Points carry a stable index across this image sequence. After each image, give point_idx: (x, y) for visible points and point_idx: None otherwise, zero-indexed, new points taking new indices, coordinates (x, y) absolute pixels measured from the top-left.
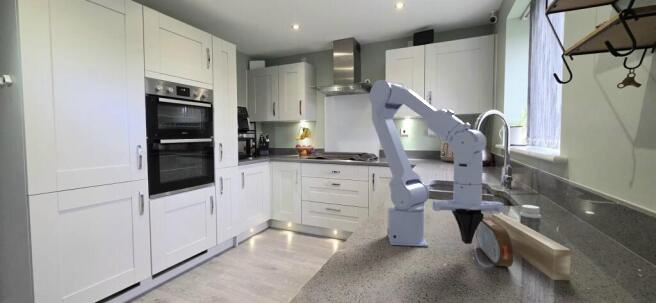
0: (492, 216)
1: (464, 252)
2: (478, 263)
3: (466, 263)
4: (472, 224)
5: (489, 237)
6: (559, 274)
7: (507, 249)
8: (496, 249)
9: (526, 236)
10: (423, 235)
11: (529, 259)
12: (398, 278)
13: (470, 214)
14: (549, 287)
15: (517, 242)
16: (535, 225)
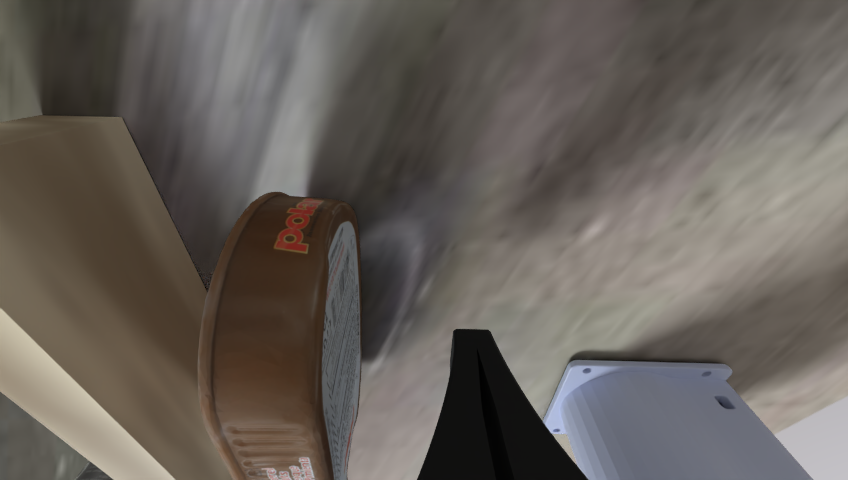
0: None
1: (439, 328)
2: (425, 246)
3: (482, 242)
4: (483, 466)
5: (336, 372)
6: (58, 121)
7: (277, 230)
8: (337, 272)
9: (115, 387)
10: (582, 414)
11: (186, 277)
12: None
13: None
14: (151, 19)
15: (196, 374)
16: (92, 477)
